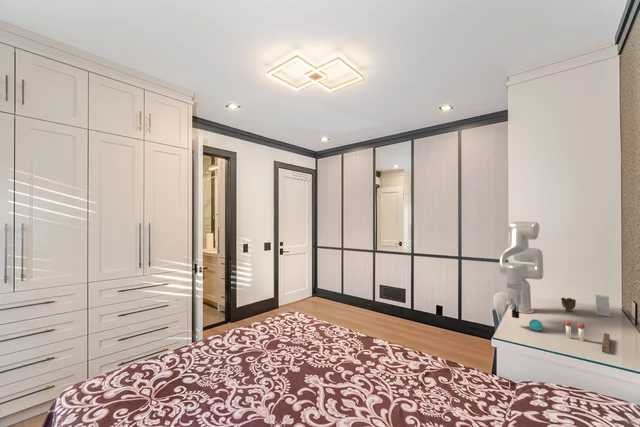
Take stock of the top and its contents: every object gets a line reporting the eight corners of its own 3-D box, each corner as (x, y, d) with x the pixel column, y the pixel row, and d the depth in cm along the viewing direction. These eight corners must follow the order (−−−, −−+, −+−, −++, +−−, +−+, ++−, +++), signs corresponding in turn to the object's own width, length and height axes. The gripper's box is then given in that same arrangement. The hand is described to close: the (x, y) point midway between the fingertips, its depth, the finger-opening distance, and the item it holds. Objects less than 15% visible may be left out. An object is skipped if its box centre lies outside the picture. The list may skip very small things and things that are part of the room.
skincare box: (609, 315, 180) (609, 295, 180) (610, 317, 177) (609, 297, 177) (596, 313, 184) (595, 294, 184) (596, 315, 181) (595, 295, 181)
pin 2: (577, 340, 147) (576, 323, 147) (577, 338, 149) (577, 321, 150) (585, 342, 145) (584, 324, 145) (585, 340, 147) (585, 322, 147)
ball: (528, 330, 161) (527, 319, 161) (530, 327, 165) (530, 317, 165) (541, 333, 157) (541, 322, 157) (543, 330, 161) (543, 319, 161)
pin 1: (564, 337, 151) (564, 320, 151) (565, 335, 153) (564, 319, 153) (572, 339, 149) (571, 322, 149) (572, 337, 151) (572, 320, 151)
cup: (573, 309, 191) (573, 297, 191) (578, 313, 185) (577, 301, 185) (559, 308, 194) (559, 296, 195) (563, 312, 188) (563, 300, 188)
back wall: (602, 352, 135) (602, 346, 135) (604, 338, 148) (603, 333, 148) (608, 353, 133) (608, 347, 133) (609, 339, 147) (609, 334, 147)
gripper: (510, 283, 176) (511, 313, 175) (503, 287, 166) (504, 319, 165) (525, 285, 170) (526, 316, 170) (519, 289, 160) (520, 322, 160)
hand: (515, 317), depth 168 cm, fingers closed
